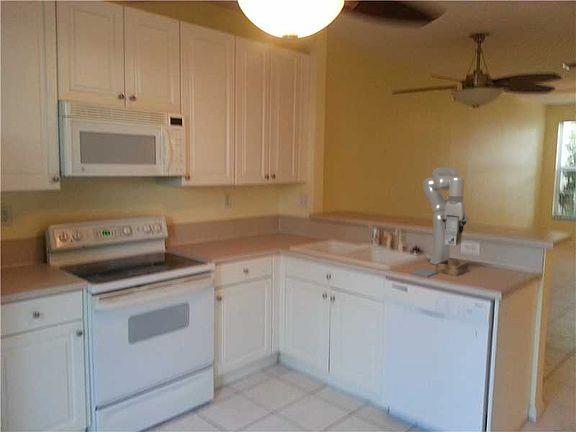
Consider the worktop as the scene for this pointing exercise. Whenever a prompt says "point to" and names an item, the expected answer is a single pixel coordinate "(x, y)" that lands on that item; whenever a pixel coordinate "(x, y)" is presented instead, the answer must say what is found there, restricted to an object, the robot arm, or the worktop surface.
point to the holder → (452, 267)
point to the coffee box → (452, 231)
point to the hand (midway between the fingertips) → (453, 231)
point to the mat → (424, 272)
